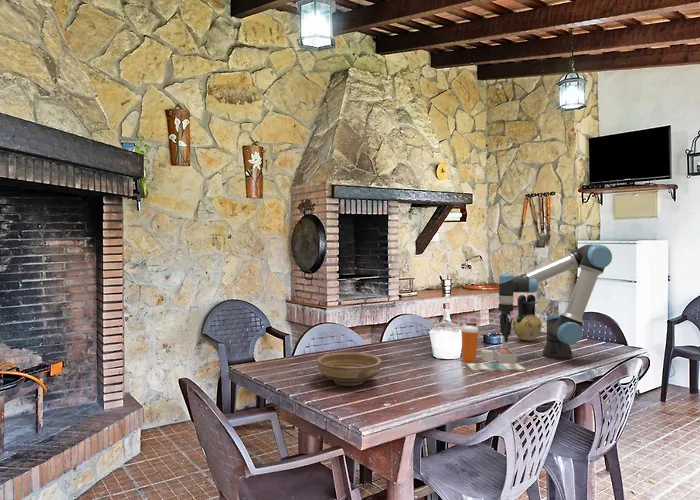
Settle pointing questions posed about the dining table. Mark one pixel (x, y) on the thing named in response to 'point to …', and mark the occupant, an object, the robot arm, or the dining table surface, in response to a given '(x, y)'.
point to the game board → (495, 367)
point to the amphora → (526, 320)
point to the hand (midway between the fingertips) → (505, 347)
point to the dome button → (505, 351)
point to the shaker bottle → (469, 342)
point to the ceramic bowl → (349, 367)
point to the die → (487, 355)
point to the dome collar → (505, 357)
